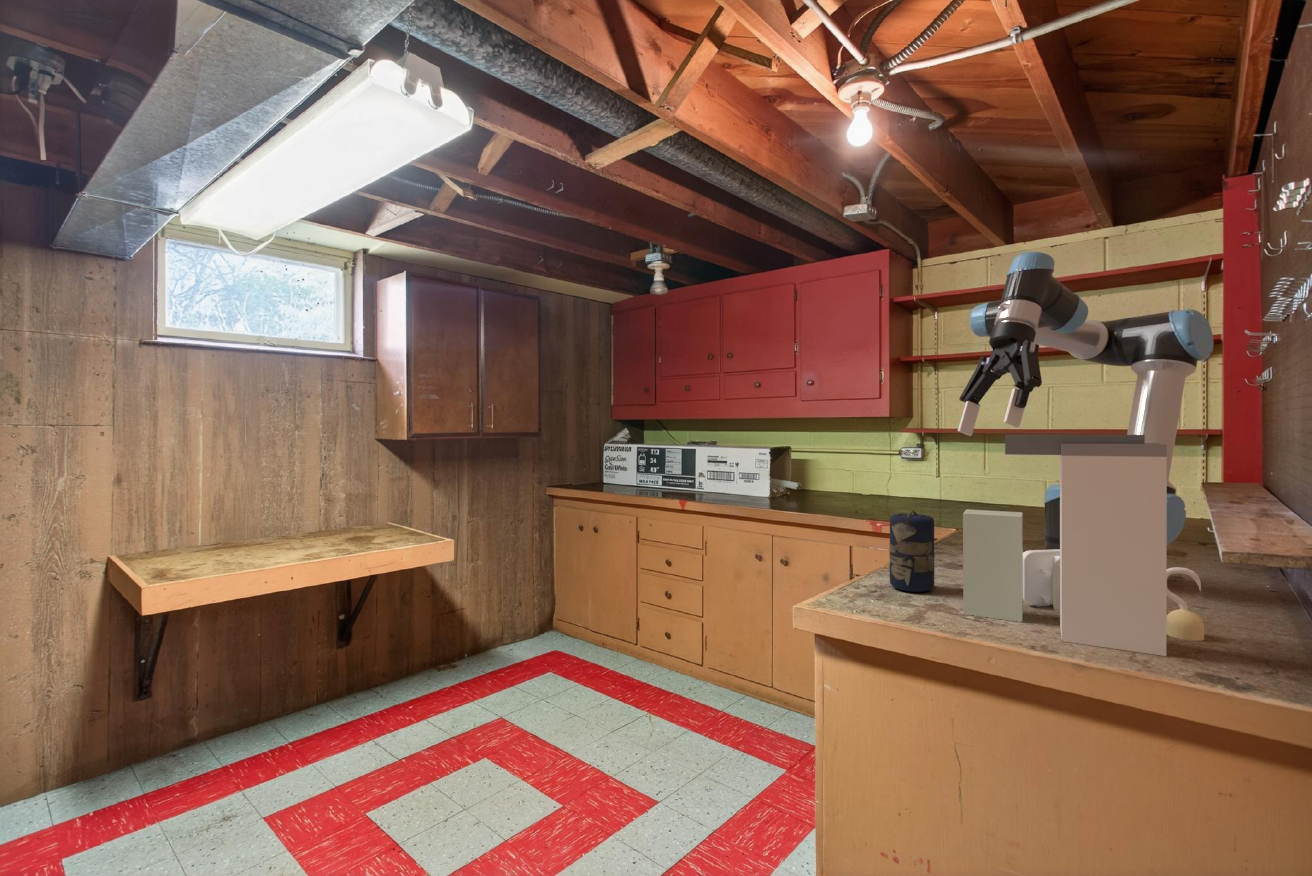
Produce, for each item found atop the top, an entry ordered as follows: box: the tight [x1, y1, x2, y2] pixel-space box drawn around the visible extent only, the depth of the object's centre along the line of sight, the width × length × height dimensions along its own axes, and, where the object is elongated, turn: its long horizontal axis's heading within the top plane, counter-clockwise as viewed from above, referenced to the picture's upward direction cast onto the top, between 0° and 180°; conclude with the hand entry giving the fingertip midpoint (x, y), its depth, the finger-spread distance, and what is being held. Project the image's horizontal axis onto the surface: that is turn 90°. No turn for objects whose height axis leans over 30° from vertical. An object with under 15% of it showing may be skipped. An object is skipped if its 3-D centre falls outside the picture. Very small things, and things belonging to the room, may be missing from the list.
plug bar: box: [1004, 434, 1145, 456], centre depth 108 cm, size 4×20×4 cm, turn 58°
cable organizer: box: [1023, 549, 1060, 615], centre depth 123 cm, size 15×11×12 cm
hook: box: [1166, 566, 1205, 642], centre depth 108 cm, size 6×5×12 cm
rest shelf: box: [962, 508, 1024, 623], centre depth 122 cm, size 7×10×20 cm
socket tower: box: [1059, 443, 1168, 657], centre depth 105 cm, size 8×14×34 cm, turn 58°
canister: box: [888, 510, 935, 593], centre depth 141 cm, size 10×10×18 cm
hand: (986, 429), depth 117 cm, fingers open, 13 cm apart
